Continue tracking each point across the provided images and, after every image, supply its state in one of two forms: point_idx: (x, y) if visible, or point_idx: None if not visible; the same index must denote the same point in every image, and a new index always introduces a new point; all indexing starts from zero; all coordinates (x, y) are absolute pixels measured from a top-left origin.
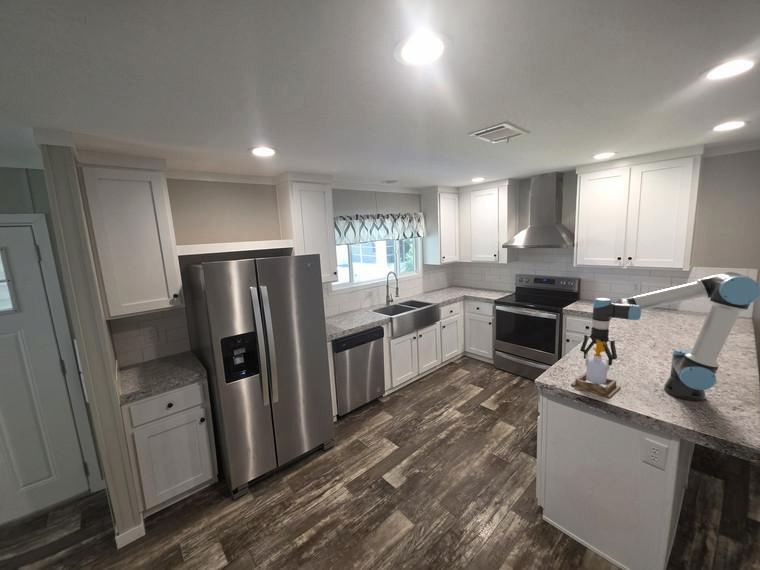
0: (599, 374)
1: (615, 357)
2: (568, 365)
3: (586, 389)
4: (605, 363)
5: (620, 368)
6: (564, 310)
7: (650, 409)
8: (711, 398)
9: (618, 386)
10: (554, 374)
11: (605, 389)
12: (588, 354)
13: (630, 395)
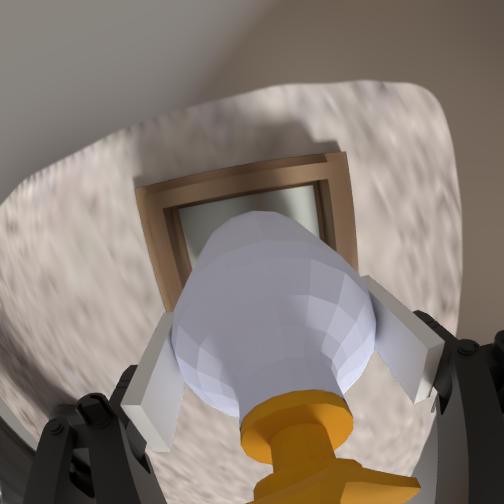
0: (206, 247)
1: (43, 443)
2: None
3: (257, 162)
4: (188, 375)
5: None
6: None
7: (29, 252)
8: None
9: None
10: (444, 212)
11: (150, 194)
12: (414, 374)
13: (118, 312)
